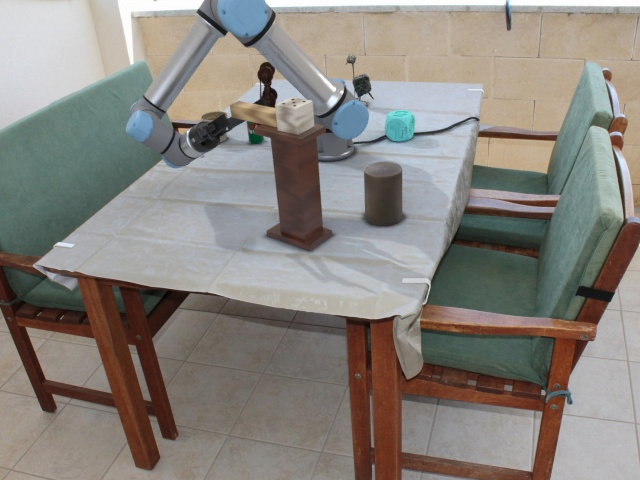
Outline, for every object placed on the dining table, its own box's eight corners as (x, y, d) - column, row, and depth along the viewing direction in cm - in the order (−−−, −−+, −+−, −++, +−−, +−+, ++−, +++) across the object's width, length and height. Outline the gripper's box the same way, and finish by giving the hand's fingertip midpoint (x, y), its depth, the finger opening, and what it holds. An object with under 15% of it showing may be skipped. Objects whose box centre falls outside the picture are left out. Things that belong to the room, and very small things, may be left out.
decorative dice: (384, 140, 213) (384, 117, 208) (391, 132, 219) (391, 109, 215) (408, 142, 210) (408, 119, 206) (414, 133, 216) (415, 110, 212)
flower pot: (226, 145, 218) (222, 120, 214) (200, 144, 220) (196, 120, 216) (234, 135, 226) (231, 111, 222) (209, 134, 228) (205, 111, 224)
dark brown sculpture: (253, 113, 245) (247, 60, 234) (292, 111, 244) (287, 57, 233) (249, 127, 232) (241, 71, 221) (289, 125, 231) (284, 68, 221)
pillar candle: (392, 229, 162) (391, 174, 154) (358, 221, 167) (356, 167, 159) (408, 212, 169) (409, 159, 161) (375, 205, 174) (374, 153, 166)
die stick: (314, 126, 146) (312, 99, 143) (297, 135, 143) (295, 107, 139) (244, 111, 158) (241, 86, 155) (227, 119, 155) (223, 93, 151)
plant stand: (332, 235, 162) (325, 126, 146) (310, 251, 156) (300, 138, 141) (289, 221, 169) (279, 116, 154) (266, 236, 163) (253, 128, 148)
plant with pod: (371, 109, 240) (370, 54, 229) (341, 108, 243) (339, 54, 232) (375, 102, 246) (374, 48, 236) (346, 101, 249) (344, 48, 239)
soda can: (266, 139, 221) (262, 105, 214) (260, 145, 217) (256, 110, 210) (252, 138, 222) (248, 104, 216) (246, 144, 218) (242, 109, 212)
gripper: (240, 137, 178) (287, 109, 162) (171, 169, 162) (216, 142, 146) (227, 112, 177) (273, 82, 161) (156, 142, 161) (200, 112, 145)
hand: (246, 110), depth 153 cm, fingers open, 13 cm apart
